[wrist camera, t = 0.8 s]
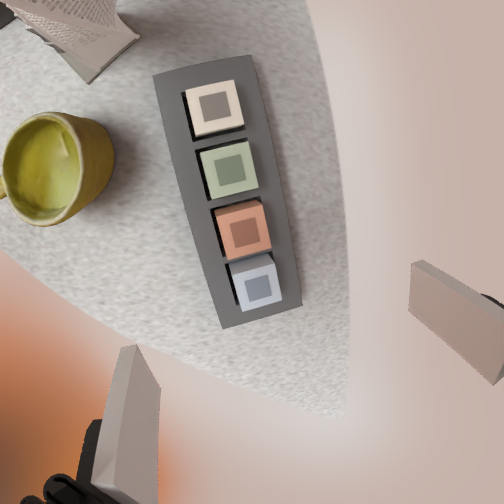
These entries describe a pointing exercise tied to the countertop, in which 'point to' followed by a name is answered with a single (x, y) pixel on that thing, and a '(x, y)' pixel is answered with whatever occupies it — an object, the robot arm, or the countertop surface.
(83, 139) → the mug
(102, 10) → the skyscraper
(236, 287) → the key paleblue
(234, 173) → the key sage
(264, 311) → the keyguard frame
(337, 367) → the countertop surface
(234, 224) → the key terracotta
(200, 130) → the key ivory
